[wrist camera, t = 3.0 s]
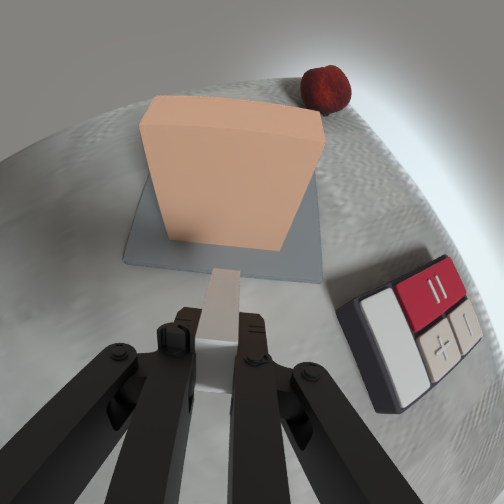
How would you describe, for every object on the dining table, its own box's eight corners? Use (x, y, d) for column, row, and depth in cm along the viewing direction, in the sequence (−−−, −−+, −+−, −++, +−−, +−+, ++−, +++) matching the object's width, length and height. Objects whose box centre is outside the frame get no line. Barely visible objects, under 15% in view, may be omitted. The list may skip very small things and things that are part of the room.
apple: (330, 98, 40) (344, 60, 33) (351, 127, 37) (370, 85, 30) (289, 96, 38) (299, 54, 31) (307, 125, 35) (322, 79, 28)
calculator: (487, 336, 21) (404, 416, 16) (462, 345, 25) (375, 415, 20) (450, 249, 25) (355, 296, 20) (428, 266, 29) (333, 311, 24)
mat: (125, 263, 24) (122, 259, 23) (170, 128, 32) (169, 123, 32) (319, 283, 25) (322, 280, 24) (309, 142, 34) (310, 138, 33)
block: (169, 239, 24) (139, 124, 13) (175, 211, 26) (155, 95, 14) (279, 251, 25) (325, 142, 14) (279, 222, 27) (319, 111, 15)
